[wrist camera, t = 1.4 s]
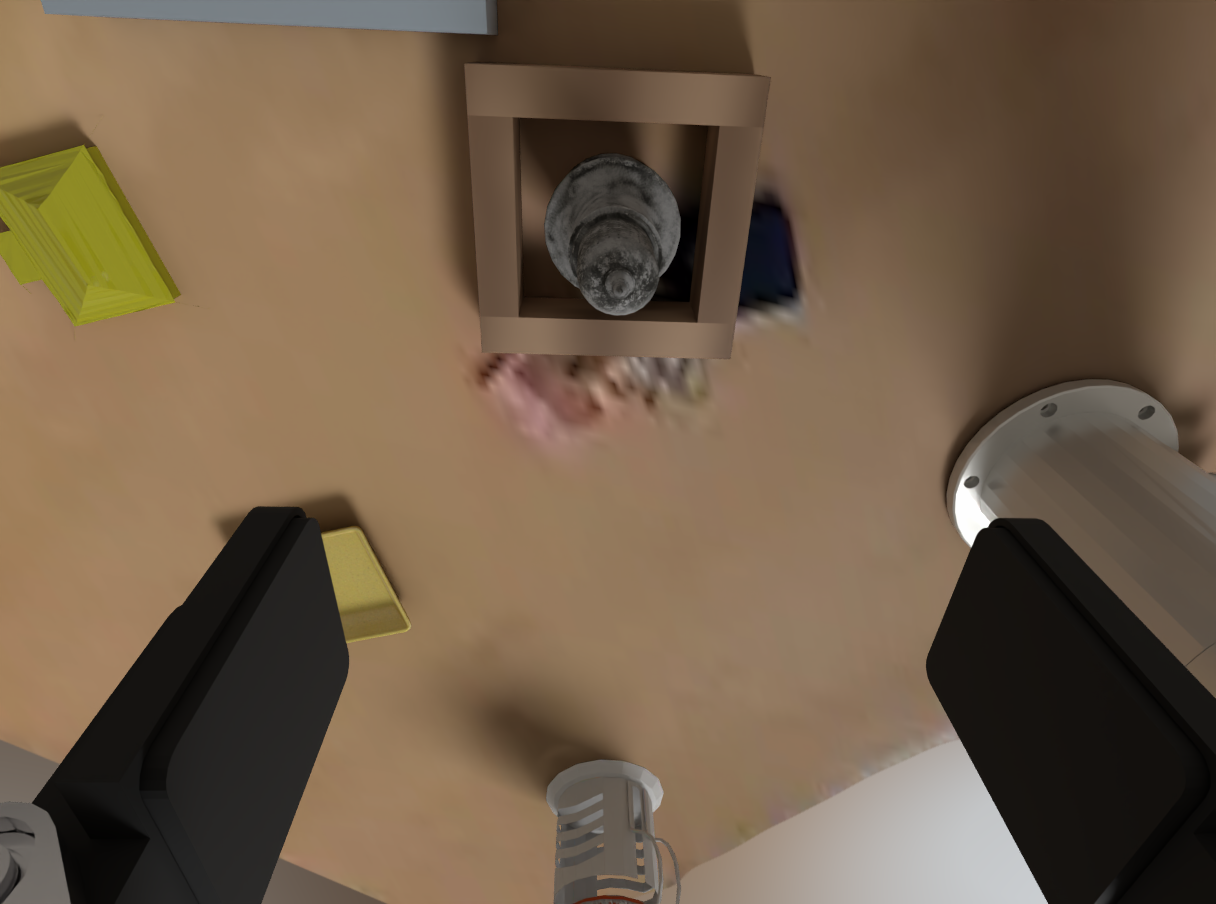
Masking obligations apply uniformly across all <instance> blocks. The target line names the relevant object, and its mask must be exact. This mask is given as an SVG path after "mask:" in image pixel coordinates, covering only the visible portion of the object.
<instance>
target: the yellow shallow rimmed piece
mask: <svg viewBox="0 0 1216 904" xmlns="http://www.w3.org/2000/svg"><path fill="white" fill-rule="evenodd" d="M321 535H322V539H323V544H324V548H325V552H326V557H327V561H328V566H329V570H330V574H331V579H332V583H333V587H334V592H335V596H336V600H337V605H338V609H339V613H340V618H341V622H342V626H343V631H344V635H345V639H346V643H350V642H355V641H360V640H366V639H370V638H376V637H381V636H387V635H392V634H397V633H403V632H406V631H408V630H409V629H410V628H411V623H410V620H409V618H408V616H407V614H406V612H405V610H404V608H403V607H402V605H401V603H400V601H399V599H398V597H397V595H396V593H395V591H394V590H393V588H392V586H391V584H390V582H389V580H388V578H387V576H386V574H385V572H384V571H383V569H382V567H381V565H380V563H379V561H378V559H377V557H376V555H375V554H374V552H373V550H372V548H371V546H370V544H369V542H368V540H367V538H366V536H365V535H364V533H363V531H362V529H361V528H360V527H358V526H350V527H345V528H341V529H336V530H331V531H326V532H322V533H321Z"/></svg>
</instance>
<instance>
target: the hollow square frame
mask: <svg viewBox="0 0 1216 904" xmlns="http://www.w3.org/2000/svg"><path fill="white" fill-rule="evenodd" d="M464 68H465V85H466V101H467V117H468V134H469V150H470V166H471V183H472V199H473V215H474V232H475V248H476V264H477V281H478V297H479V313H480V329H481V346H482V352H485V353H521V354H557V355H593V356H630V357H666V358H702V359H730V358H731V351H732V344H733V337H734V330H735V323H736V316H737V309H738V302H739V295H740V288H741V282H742V275H743V268H744V261H745V254H746V247H747V240H748V233H749V226H750V219H751V212H752V205H753V198H754V191H755V184H756V177H757V170H758V163H759V156H760V149H761V142H762V135H763V128H764V121H765V114H766V107H767V100H768V93H769V86H770V79H771V77H767V76H761V75H756V74H735V73H713V72H690V71H668V70H646V69H623V68H601V67H579V66H556V65H534V64H511V63H489V62H471V63H464ZM519 117H521V118H545V119H570V120H594V121H618V122H642V123H666V124H690V125H708V130H707V140H706V149H705V159H704V168H703V178H702V187H701V197H700V207H699V216H698V226H697V235H696V245H695V254H694V264H693V273H692V283H691V292H690V302H670V301H649V302H648V303H647V304H646V305H645V306H644V307H643V308H641V309H639V310H638V311H636V312H634V313H630V314H627V315H611V314H606V313H604V312H601V311H599V310H597V309H596V308H595V307H593V306H592V305H591V304H590V303H589V302H588V301H587V300H586V299H573V298H541V297H524V279H523V240H522V201H521V162H520V123H519Z"/></svg>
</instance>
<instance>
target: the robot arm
mask: <svg viewBox="0 0 1216 904" xmlns="http://www.w3.org/2000/svg"><path fill="white" fill-rule="evenodd" d="M1178 450H1179V441H1178V431H1177V428H1176V426H1175V423H1174V421H1173V418H1172V416H1171V415H1170V413H1169V412H1168V411H1167V410H1166V409H1165V407H1164V406H1163V405H1162V404H1161V403H1160V402H1158V401H1157V400H1155V399H1154V398H1152V397H1151V396H1150V395H1148V394H1147V393H1145V392H1143V391H1141V390H1139V389H1137V388H1135V387H1133V386H1131V385H1129V384H1126V383H1121V382H1117V381H1113V380H1101V379H1086V380H1079V381H1071V382H1065V383H1062V384H1058V385H1055V386H1052V387H1048V388H1045V389H1042V390H1040V391H1038V392H1035V393H1033V394H1031V395H1029V396H1027V397H1025V398H1022V399H1020V400H1019V401H1017V402H1016V403H1014V404H1012V405H1011V406H1009V407H1008V408H1006V409H1004V410H1003V411H1001V412H1000V413H999V414H997V415H996V416H995V417H994V418H993V419H991V420H990V421H989V422H988V423H987V424H986V425H984V426H983V427H982V428H981V429H980V430H979V432H978V433H977V434H976V435H975V436H974V437H973V438H972V439H971V440H970V442H969V443H968V444H967V446H966V447H965V449H964V450H963V452H962V453H961V455H960V456H959V458H958V460H957V461H956V464H955V466H954V469H953V471H952V473H951V476H950V479H949V484H948V489H947V510H948V513H949V517H950V520H951V523H952V525H953V526H954V528H955V529H956V531H957V532H958V534H959V535H960V536H961V538H962V539H963V540H964V541H965V542H966V543H967V545H968V546H969V547H970V548H971V550H970V552H969V555H968V557H967V560H966V562H965V565H964V567H963V570H962V572H961V574H960V577H959V579H958V582H957V584H956V587H955V589H954V592H953V594H952V597H951V599H950V602H949V604H948V607H947V609H946V611H945V614H944V616H943V619H942V621H941V624H940V626H939V629H938V631H937V634H936V636H935V639H934V641H933V644H932V646H931V648H930V651H929V653H928V656H927V660H926V671H927V676H928V679H929V682H930V684H931V686H932V688H933V690H934V691H935V693H936V695H937V697H938V699H939V701H940V703H941V705H942V706H943V708H944V710H945V712H946V714H947V716H948V718H949V719H950V721H951V723H952V725H953V727H954V729H955V731H956V733H957V734H958V736H959V738H960V740H961V742H962V744H963V746H964V747H965V749H966V751H967V753H968V755H969V757H970V759H971V761H972V762H973V764H974V766H975V768H976V770H977V771H978V774H979V775H980V777H981V779H982V781H983V783H984V785H985V787H986V788H987V790H988V792H989V794H990V796H991V798H992V800H993V802H994V803H995V805H996V807H997V809H998V811H999V813H1000V814H1001V816H1002V818H1003V820H1004V822H1005V824H1006V826H1007V828H1008V829H1009V831H1010V833H1011V835H1012V837H1013V839H1014V841H1015V842H1016V844H1017V846H1018V848H1019V850H1020V852H1021V854H1022V856H1023V857H1024V859H1025V861H1026V863H1027V865H1028V867H1029V868H1030V871H1031V872H1032V874H1033V876H1034V878H1035V880H1036V882H1037V883H1038V885H1039V887H1040V889H1041V891H1042V893H1043V895H1044V897H1045V899H1046V900H1047V902H1048V904H1216V473H1207V472H1205V471H1204V470H1203V469H1201V468H1200V467H1198V466H1197V465H1195V464H1194V463H1192V462H1191V461H1190V460H1188V459H1187V458H1185V457H1184V456H1182V455H1181V454H1179V453H1178ZM348 669H349V653H348V648H347V644H346V639H345V635H344V631H343V626H342V622H341V618H340V613H339V609H338V605H337V600H336V596H335V592H334V587H333V583H332V579H331V574H330V570H329V566H328V561H327V557H326V552H325V548H324V544H323V539H322V535H321V531H320V527H319V524H318V521H317V520H316V519H315V518H307V517H306V515H305V512H304V511H303V510H302V509H301V508H299V507H255V508H253V509H252V510H251V511H250V512H249V513H248V515H247V516H246V517H245V519H244V520H243V522H242V523H241V524H240V526H239V527H238V529H237V530H236V531H235V533H234V534H233V535H232V537H231V538H230V540H229V541H228V542H227V544H226V545H225V547H224V548H223V549H222V551H221V552H220V553H219V555H218V556H217V558H216V559H215V560H214V562H213V563H212V565H211V566H210V567H209V569H208V570H207V571H206V573H205V574H204V576H203V577H202V578H201V580H200V581H199V583H198V584H197V585H196V587H195V588H194V589H193V591H192V592H191V594H190V595H189V596H188V598H187V599H186V601H185V602H184V603H183V605H181V606H179V607H177V608H176V609H175V610H174V611H173V612H172V613H171V614H170V615H169V617H168V618H167V619H166V621H165V622H164V623H163V625H162V626H161V627H160V629H159V630H158V631H157V633H156V634H155V636H154V637H153V638H152V640H151V641H150V642H149V644H148V645H147V646H146V648H145V649H144V651H143V652H142V653H141V655H140V656H139V657H138V659H137V660H136V661H135V663H134V664H133V666H132V667H131V668H130V670H129V671H128V672H127V674H126V675H125V677H124V678H123V679H122V681H121V682H120V683H119V685H118V686H117V687H116V689H115V690H114V692H113V693H112V694H111V696H110V697H109V698H108V700H107V701H106V702H105V704H104V705H103V707H102V708H101V709H100V711H99V712H98V713H97V715H96V716H95V717H94V719H93V720H92V722H91V723H90V724H89V726H88V727H87V728H86V730H85V731H84V733H83V734H82V735H81V737H80V738H79V739H78V741H77V742H76V743H75V745H74V746H73V748H72V749H71V750H70V752H69V753H68V754H67V756H66V757H65V758H64V760H63V761H62V763H61V764H60V765H59V767H58V768H57V769H56V771H55V772H54V774H53V775H52V776H51V778H50V779H49V780H48V782H47V783H46V784H45V786H44V787H43V789H42V790H41V791H40V793H39V794H38V795H37V797H36V798H35V800H34V801H33V802H32V803H22V802H4V803H0V904H261V903H262V900H263V897H264V895H265V892H266V889H267V887H268V884H269V881H270V879H271V876H272V874H273V871H274V868H275V866H276V863H277V860H278V858H279V855H280V853H281V850H282V847H283V845H284V842H285V839H286V837H287V834H288V832H289V829H290V826H291V824H292V821H293V818H294V816H295V813H296V810H297V808H298V805H299V803H300V800H301V797H302V795H303V792H304V789H305V787H306V784H307V781H308V779H309V776H310V774H311V771H312V768H313V766H314V763H315V760H316V758H317V755H318V752H319V750H320V747H321V745H322V742H323V739H324V737H325V734H326V731H327V729H328V726H329V724H330V721H331V718H332V716H333V713H334V710H335V708H336V705H337V702H338V700H339V697H340V695H341V692H342V689H343V687H344V684H345V681H346V678H347V674H348Z"/></svg>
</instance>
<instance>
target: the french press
mask: <svg viewBox="0 0 1216 904" xmlns="http://www.w3.org/2000/svg"><path fill="white" fill-rule="evenodd" d="M662 796H663V789H662V787H661V784H660V782H659V779H658V778H657V777H655V776H654V775H653V774H652V773H650V772H649V771H648V770H647V769H645V768H644V767H641V766H638V765H635V764H632V763H629V762H626V761H617V760H595V761H590V762H585V763H579V764H576V765H574V766H572V767H570V768H568V769H566V770H564V771H562V772H560V773H558V775H557V776H556V777H555V778H554V779H553V780H552V782H551V783H550V784H549V785H548V788H547V796H546V801H547V802H548V804H549V806H550V808H551V810H552V811H553V813H554V814H555V815H556V816H557V817H558V820H557V837H556V848H557V850H556V855H555V864H556V867H557V868H556V869H555V879H554V904H660V903H661V898H662V888H663V870H662V858H661V854H660V852H659V849H658V846H657V844H656V842H655V841H657V842H662V843H663V844H664V845H666V846H667V847H668V849H669V852H670V854H671V856H672V859H673V861H674V867H675V874H676V880H677V897H676V904H679V901H680V893H681V885H680V875H679V867H678V862H677V859H676V856H675V853H674V852H673V850H672V848H671V846H670V845H669V843H667V842H666V841H665V840H663V839H662V838H655V833H654V821H653V812H654V811H655V810H656V809H657V808H658V807H659V806H660V803H661V800H662ZM558 825H561V831H560V828H559V826H558ZM558 841H561V848H560V845H559V843H558ZM636 842H639V843H641V842H643V849H642V850H638V849H636ZM602 843H604V847H600V848H597V846H598V845H600V844H602ZM656 855H657V858H658V868H659V881H660V882H659V884H658V871H657V858H656ZM558 858H560V864H559V861H558ZM636 858H641V859H642V858H644V866H638V865H637V859H636ZM637 874H639V875H645V880H646V882H645V883H639V882H634V881H630V880H626V879H614V878H608V879H602V880H597V875H624V876H628V877H633V878H637V879H638V877H637ZM609 887H612V888H622V889H630V890H634V891H639V892H643V893H644V892H647V891H649V890H651V889H653V888H654V889H655V890H656V891H655V893H654V896H653V898H652V899H650V900H647V901H645V902H643V901H639V900H636V899H632V898H628V897H624V896H618V895H603V896H597V890H599V889H604V888H609Z"/></svg>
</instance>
